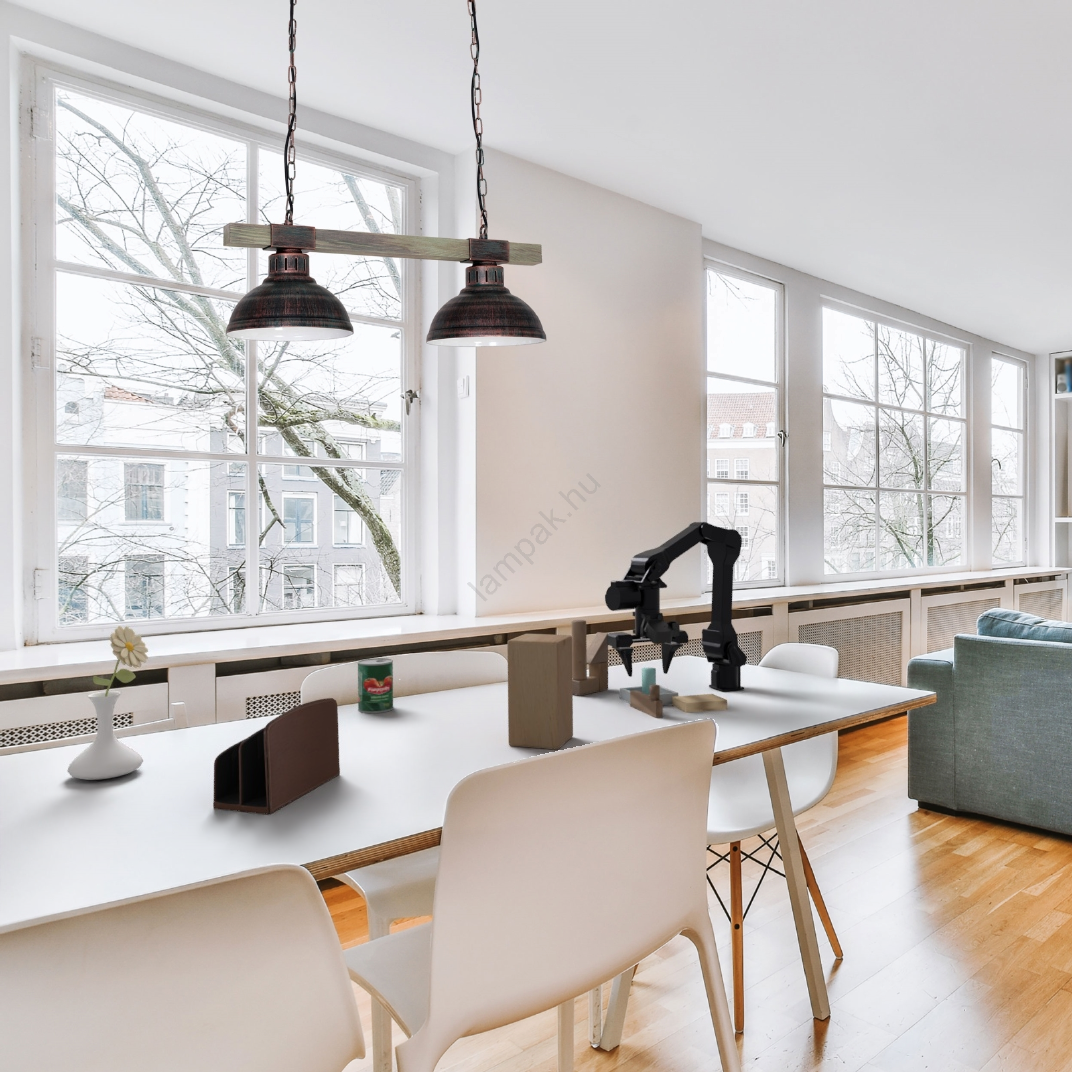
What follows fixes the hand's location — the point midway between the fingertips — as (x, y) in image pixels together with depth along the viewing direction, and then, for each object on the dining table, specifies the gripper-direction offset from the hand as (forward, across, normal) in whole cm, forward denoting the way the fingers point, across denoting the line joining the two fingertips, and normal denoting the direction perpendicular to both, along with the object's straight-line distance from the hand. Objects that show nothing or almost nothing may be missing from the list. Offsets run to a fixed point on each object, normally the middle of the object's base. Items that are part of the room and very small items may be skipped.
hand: (647, 675), depth 191 cm
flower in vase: (+6, -110, -14) cm, 111 cm away
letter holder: (+7, -84, -34) cm, 91 cm away
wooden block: (+6, -35, -23) cm, 43 cm away
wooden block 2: (+6, -8, +15) cm, 18 cm away
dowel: (+6, 0, 0) cm, 6 cm away
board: (+7, +8, -10) cm, 14 cm away
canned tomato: (+6, -60, +17) cm, 63 cm away
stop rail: (+6, -5, -9) cm, 12 cm away
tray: (+6, 0, 0) cm, 6 cm away
